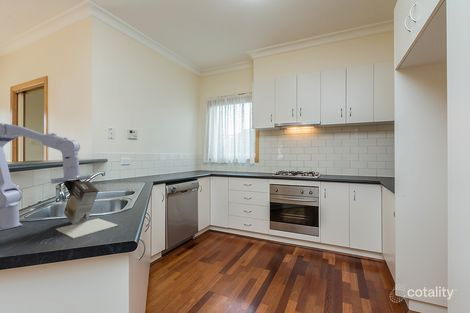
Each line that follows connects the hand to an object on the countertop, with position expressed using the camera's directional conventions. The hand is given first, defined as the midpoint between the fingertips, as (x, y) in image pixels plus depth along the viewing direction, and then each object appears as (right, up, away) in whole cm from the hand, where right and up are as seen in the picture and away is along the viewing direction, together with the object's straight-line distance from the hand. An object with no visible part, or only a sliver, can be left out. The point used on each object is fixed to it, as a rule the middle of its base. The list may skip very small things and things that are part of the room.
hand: (73, 197), depth 98 cm
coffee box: (+1, -9, -1) cm, 9 cm away
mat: (+12, -11, -8) cm, 18 cm away
